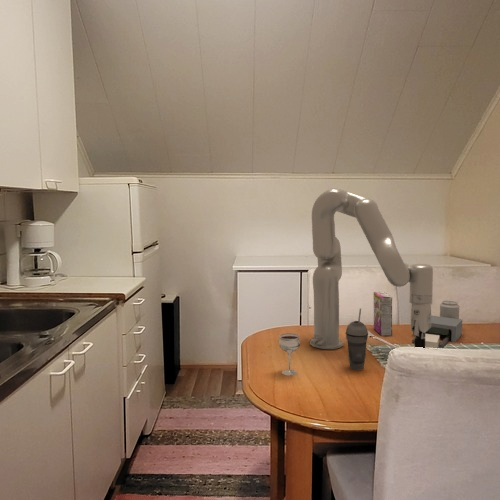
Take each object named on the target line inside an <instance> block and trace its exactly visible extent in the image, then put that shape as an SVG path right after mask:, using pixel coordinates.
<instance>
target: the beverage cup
mask: <svg viewBox="0 0 500 500" xmlns="http://www.w3.org/2000/svg"><path fill="white" fill-rule="evenodd" d="M361 313H362V308H359V312H358V320H354V321H351V322H350V323H348V325H347V327H346V330H345V336H346V337H345V338H346V342H347V353H348V363H349V368H350V369H351V370H353V371H362V370H364V368H365V362H366V361H365V360H366V350H367V343H368V339H369V337H368V333H369V330H368V328H367V326H366V324H365V323H363V322H362V321H360V320H361V315H362V314H361Z"/></svg>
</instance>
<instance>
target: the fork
mask: <svg viewBox="0 0 500 500" xmlns="http://www.w3.org/2000/svg"><path fill="white" fill-rule="evenodd" d="M368 336H375V335H374V334H373V333H371V332H370V331H368ZM373 339H376V340H378V341H379V342H382V343H384V344H387V345H389V346H391V347H394V348H396V349H398V348H397V347H398V346H397V345H394V344H392V343H390V342H389V341H386V340H384V339H382V338H381V337H378V336H375V337H373Z"/></svg>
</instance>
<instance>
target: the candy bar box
mask: <svg viewBox="0 0 500 500" xmlns="http://www.w3.org/2000/svg"><path fill="white" fill-rule="evenodd" d="M373 329H374V330H375V331H376V333H378V334H379V335H380V337H381V336H383V337H389V336H393V297H392V296H391V295H390V294H389V293H387V292H385V291H373Z"/></svg>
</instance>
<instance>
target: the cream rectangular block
mask: <svg viewBox="0 0 500 500" xmlns="http://www.w3.org/2000/svg"><path fill="white" fill-rule="evenodd" d="M440 337H441V334H433V333H426V334H425V346H426V347H433V348H437V347H438V348H439V344H440V343H441V341H440V340H441V338H440ZM438 348H437V349H438Z"/></svg>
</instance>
